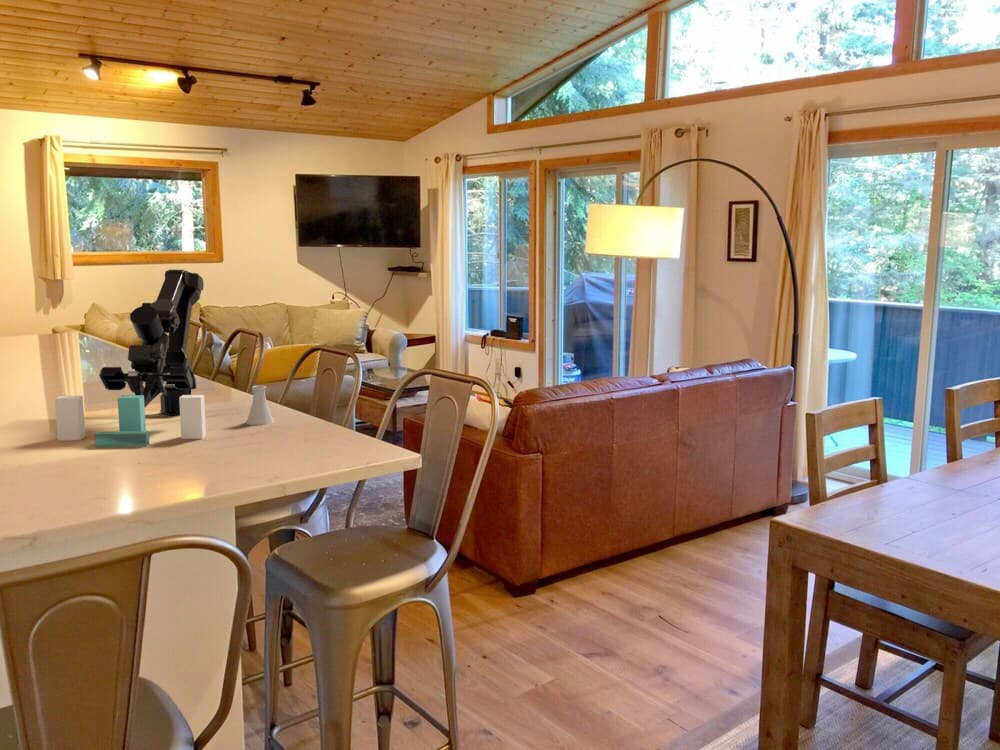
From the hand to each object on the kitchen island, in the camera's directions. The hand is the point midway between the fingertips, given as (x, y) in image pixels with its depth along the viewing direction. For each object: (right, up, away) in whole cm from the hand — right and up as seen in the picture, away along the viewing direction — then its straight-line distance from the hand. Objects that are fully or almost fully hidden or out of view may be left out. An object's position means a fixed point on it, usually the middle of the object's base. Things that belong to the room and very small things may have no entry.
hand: (139, 409), depth 179 cm
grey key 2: (+13, -6, -3) cm, 15 cm away
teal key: (+1, -6, -4) cm, 7 cm away
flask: (+23, -5, +13) cm, 27 cm away
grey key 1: (-12, -6, -6) cm, 15 cm away
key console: (+1, -8, -7) cm, 10 cm away
